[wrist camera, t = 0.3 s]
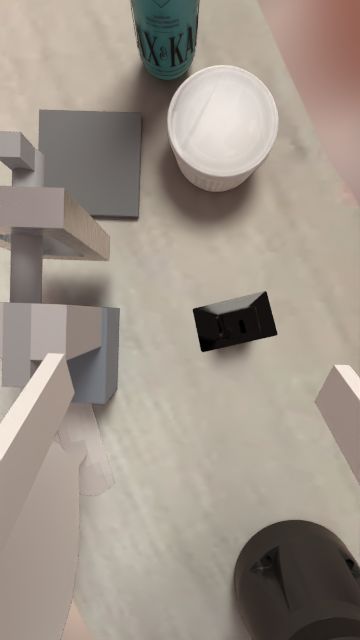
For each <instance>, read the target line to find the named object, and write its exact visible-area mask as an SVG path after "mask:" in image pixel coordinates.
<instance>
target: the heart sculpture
mask: <svg viewBox="0 0 360 640" xmlns="http://www.w3.org/2000/svg"><path fill="white" fill-rule="evenodd" d="M58 434H59V437H60V440H61V444H62V447H63V449H62V447H61V446H60V445H59V444H58V443H57V442H55V441H54V440H53V442H52V444H51V446H50V448H49V451H48V453H47V455H46V457H45V459H44V462H43V464H42V466H41V468H40V470H39V473H38V475H37V477H36V479H35V482H34V484H33V486H32V488H31V490H30V493H29V495H28V497H27V499H26V501H25V504H24V506H23V508H22V510H21V512H20V515H19V517H18V519H17V521H16V523H15V526H14V528H13V530H12V532H11V535H10V537H9V539H8V541H7V543H6V546H5V548H4V550H3V552H2V554H1V557H0V640H61V637H62V633H63V630H64V626H65V623H66V620H67V616H68V613H69V610H70V607H71V603H72V597H73V590H74V584H75V577H76V570H77V563H78V557H79V529H80V504H79V494H83V495H90V496H96V495H100V494H101V493H103V492H105V491H106V490H107V489H108V488H110V487H111V486H112V485H113V484H114V482H115V481H114V478H113V475H112V471H111V468H110V465H109V461H108V458H107V455H106V451H105V448H104V445H103V441H102V438H101V435H100V431H99V428H98V425H97V421H96V418H95V414H94V411H93V408H92V404H91V403H70V404H69V406H68V409H67V411H66V413H65V415H64V417H63V420H62V422H61V424H60V426H59V429H58Z"/></svg>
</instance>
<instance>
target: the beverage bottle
mask: <svg viewBox="0 0 360 640" xmlns="http://www.w3.org/2000/svg"><path fill="white" fill-rule="evenodd" d="M131 1H132V2H130V3H132V4H131V5H132V6H133V7H131V10H132V8H133V12H134V20H135V26H136V32H137V39H138V42H137V41H136V42H137V47H138V48H139V51H138V52H140V53H139V54H140V56H141V58H140V59H142V60H141V61H143V64H144V66H145V68H146V69H147V70H148V71H149V72H150V73H151V74H152V75H153V76H155V77H157V78H159V79H163V80H171V79H175V78H178V77H180V76H181V75H183V74H184V73H185V72H186V71H187V70H188V68H189V67H190V65H191V63H192V61H193V59H194V58H193V57H194V53H195V50H196V49H195V46H196V47H197V45H196V44H197V43H196V36H197V28H198V14H197V13H199V3H198V2H199V0H131ZM197 7H198V12H197ZM132 16H133V14H132ZM134 20H133V22H134ZM135 26H134V29H135ZM135 35H136V33H135Z"/></svg>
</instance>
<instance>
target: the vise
mask: <svg viewBox="0 0 360 640" xmlns="http://www.w3.org/2000/svg"><path fill="white" fill-rule="evenodd" d="M44 160H45V158H44V155H43V154H42V153H41V152H40V151H39V150H37V149H35V148H34V147H33V145H32V144H31V143H30V142H29V141H28V140H27V139H26V138H25V136H24V135H23V134H22V133H21V132H5V131H0V161H2V162H3V163H4V164H5V165H6V166H8V167H9V168H10V169H11V170H12V186H21V187H44ZM42 257H43V236H32V235H11V275H10V303H7V302H0V359H2V387H25V386H26V385H27V384H28V382H29V381H30V379H31V378H32V376H33V375H34V373H35V372H36V370H37V369H38V367H39V366H40V364H41V363H42V361H43V360H44V358H45V357H46V356H47V354H48V353H56V354H64V355H65V359H66V362H67V366H68V370H69V373H70V377H71V381H72V385H73V388H74V392H75V393H74V395H73V398H72V400H71V402H70V403H96V404H105V403H106V402H107V401H108V400H109V398H110V397H111V396H112V395H113V394H114V392H115V391H116V390H117V381H118V348H119V314H120V308H109V307H92V306H78V305H62V304H42Z"/></svg>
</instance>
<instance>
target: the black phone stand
mask: <svg viewBox="0 0 360 640" xmlns="http://www.w3.org/2000/svg"><path fill="white" fill-rule="evenodd" d="M193 314H194V318H195V323H196V328H197V333H198V338H199V342H200V347H201V351H202V352H206V351H210V350H214V349H219V348H223V347H227V346H232V345H236V344H240V343H245V342H249V341H254V340H258V339H262V338H267V337H271V336H275V335H277V330H276V327H275V323H274V319H273V315H272V311H271V307H270V303H269V299H268V296H267V292H266V291H264V292H260V293H256V294H252V295H248V296H244V297H240V298H235V299H231V300H227V301H223V302H219V303H215V304H211V305H207V306H203V307H199V308H195V309H193Z"/></svg>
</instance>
